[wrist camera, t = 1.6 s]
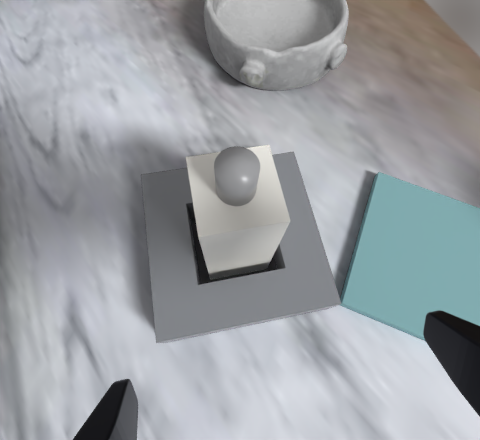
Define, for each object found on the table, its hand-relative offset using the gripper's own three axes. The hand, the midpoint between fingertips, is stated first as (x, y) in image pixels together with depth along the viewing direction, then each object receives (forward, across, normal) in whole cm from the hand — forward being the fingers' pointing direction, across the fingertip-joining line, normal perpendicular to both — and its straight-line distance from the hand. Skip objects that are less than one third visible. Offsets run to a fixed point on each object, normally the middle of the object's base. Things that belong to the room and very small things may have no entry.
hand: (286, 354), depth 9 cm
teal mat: (+12, -15, +7) cm, 21 cm away
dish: (+30, -8, -10) cm, 33 cm away
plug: (+15, 0, +4) cm, 16 cm away
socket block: (+15, 0, +4) cm, 15 cm away
